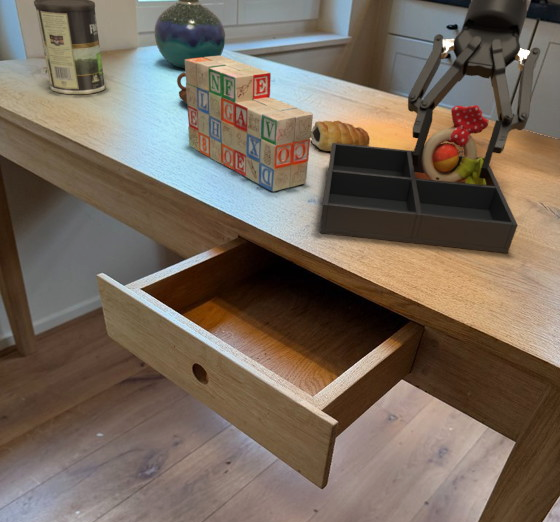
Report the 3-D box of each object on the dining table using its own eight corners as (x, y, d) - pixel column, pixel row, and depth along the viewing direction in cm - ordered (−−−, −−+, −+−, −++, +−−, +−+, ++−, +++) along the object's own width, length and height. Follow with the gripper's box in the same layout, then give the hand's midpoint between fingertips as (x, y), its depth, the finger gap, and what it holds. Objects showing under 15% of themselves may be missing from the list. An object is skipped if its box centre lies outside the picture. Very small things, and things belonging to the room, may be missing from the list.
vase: (198, 56, 136) (196, -10, 128) (239, 69, 128) (239, 0, 119) (143, 62, 128) (137, -8, 119) (182, 77, 120) (179, 3, 111)
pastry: (360, 138, 95) (363, 114, 93) (375, 153, 90) (379, 128, 88) (307, 140, 93) (309, 115, 91) (319, 154, 88) (322, 129, 86)
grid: (479, 182, 83) (486, 158, 81) (507, 253, 66) (517, 224, 64) (329, 167, 84) (332, 142, 82) (319, 232, 67) (322, 204, 65)
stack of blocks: (307, 184, 79) (316, 88, 71) (272, 193, 75) (277, 94, 67) (221, 139, 91) (220, 53, 83) (187, 145, 88) (183, 57, 80)
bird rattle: (435, 210, 77) (503, 187, 75) (419, 131, 70) (492, 103, 68) (425, 192, 82) (488, 170, 80) (409, 116, 75) (477, 90, 73)
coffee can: (105, 81, 114) (94, -2, 105) (106, 95, 106) (94, 6, 97) (51, 80, 112) (35, -5, 102) (48, 95, 104) (31, 4, 95)
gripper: (573, 38, 76) (526, 195, 74) (419, 18, 81) (372, 165, 80) (591, -5, 69) (538, 168, 67) (421, -24, 74) (369, 136, 72)
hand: (448, 166), depth 73 cm, fingers closed on bird rattle, 8 cm apart
